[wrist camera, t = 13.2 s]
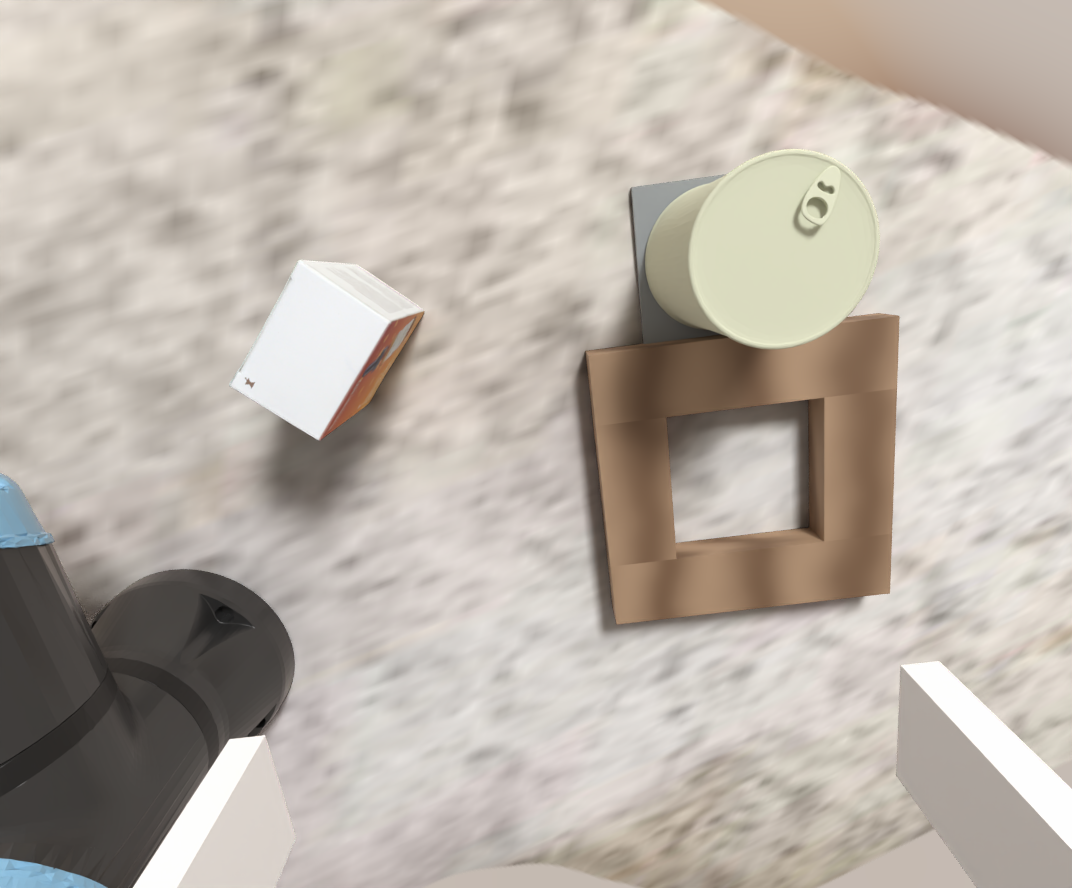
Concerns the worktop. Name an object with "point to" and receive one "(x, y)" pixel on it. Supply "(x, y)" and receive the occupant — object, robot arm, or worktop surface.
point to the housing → (834, 469)
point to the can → (767, 250)
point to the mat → (645, 214)
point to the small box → (326, 345)
